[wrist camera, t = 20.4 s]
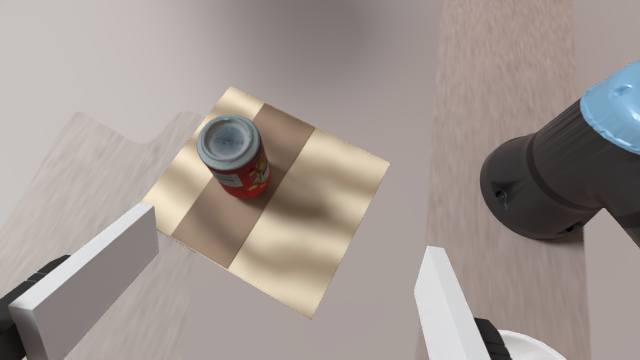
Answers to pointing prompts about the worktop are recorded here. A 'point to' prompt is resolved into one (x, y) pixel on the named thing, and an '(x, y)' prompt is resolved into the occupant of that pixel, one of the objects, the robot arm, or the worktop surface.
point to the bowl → (527, 347)
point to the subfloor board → (272, 205)
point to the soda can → (235, 155)
